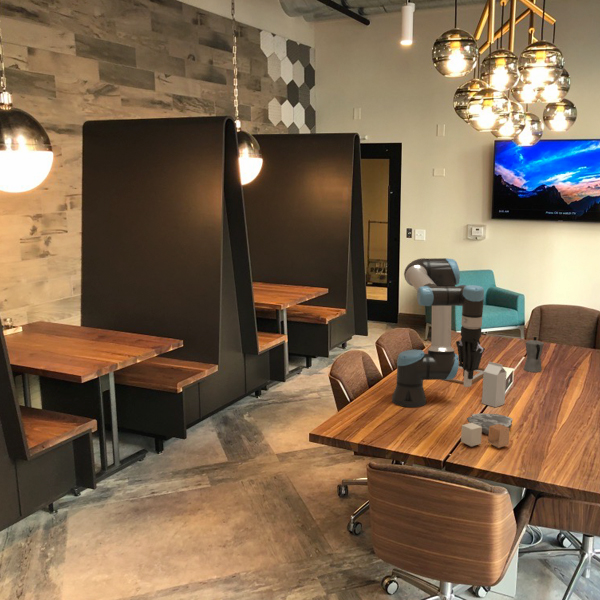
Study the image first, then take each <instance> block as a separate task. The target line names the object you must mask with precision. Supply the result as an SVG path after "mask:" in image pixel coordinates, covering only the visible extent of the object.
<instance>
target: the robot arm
mask: <svg viewBox="0 0 600 600" xmlns="http://www.w3.org/2000/svg"><path fill="white" fill-rule="evenodd" d="M460 275H461V274H460V269H459V265H458V262H457V261H456V260H455V259H453V258H442V257H441V258H424V257H423V258H417V259H414V260H412V261H410V263H408V264H407V266H406V267H405V269H404V273H403V276H404V280H405V281H406V283H407V284H408V285H410V286H411V287H413V288H414V289H415V291H416V292H417V293H416V300H417V304H418V305H419V306H423V307H425V306H426V307H431V338H430V339H431V342H430V343H431V345H430V346H429V347H428V348H427V353H425V352H424V350H422V349H407V350H404V351H401V352H400V353H399V354H398V355H397V360H396V365H397V367H396V385H395V389H394V392H393V393H392V396H391V402H392V403H393V404H395V405H396V406H399V407H404V408H405V407H406V408H418V407H423V406H425V405H426V404H427V396H426V394H425V390H424V389H425V388H424V385H423V384H424V381H425V380H426V381H427V380H428V381H439V380H440V381H443V380H450V379H454V378H456V376H457V374H458V372H459V368H458V366H459V365H460V367H463V369H462V371H463V372H462V373H463V374H462V376H463V381H464V385H463V387H464V388H469V387H472V385H473V384H472V379H473V376H474V372H476V371H475V370H478V368H480V363H481V359H482V356H483V354H484V352H485V351H486V348H485V347H482V346H481V342H480V339H481V337H482V330H483V329H482V327H483V312H484V301H485V300H484V299H485V289H484V287H483V286H482V285H481V286H480V285H475V284H468V285H466V284H460V279H461V276H460ZM458 306H459V307H462V308H461V323H460V324H461V327H460V336H461V338H460V340H456V342H455V344H456V347H457V353H455V349H454V348H453V347H452V307H458Z"/></svg>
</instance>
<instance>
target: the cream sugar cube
mask: <svg viewBox="0 0 600 600" xmlns="http://www.w3.org/2000/svg"><path fill="white" fill-rule="evenodd" d="M460 434H461V435H460V436H461V437H460V442H461V443H464V444H465V445H466V444H467V445H466V446H468V445H469V446H468V447H470V446H473V447H475V446H474V445H476V446H477V445H480V444H482V435H483V434H482V427H481V426H479V425H476V424H474V423H469V422H468V423H465V424H462V425H461V433H460Z"/></svg>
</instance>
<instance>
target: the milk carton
mask: <svg viewBox="0 0 600 600" xmlns="http://www.w3.org/2000/svg"><path fill="white" fill-rule="evenodd" d="M482 379H483V380H482V393H481V394H482V395H481V404H483V405H486V406H489V407H491V408H497V407H500V406H503V405H505V400H506V388H507V387H506V386H507V371H506V369H505V368H504V367H503V364H501V363H497V362H493V361H488V364H487V365H486V367H485V370H484V375H483V378H482Z"/></svg>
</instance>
